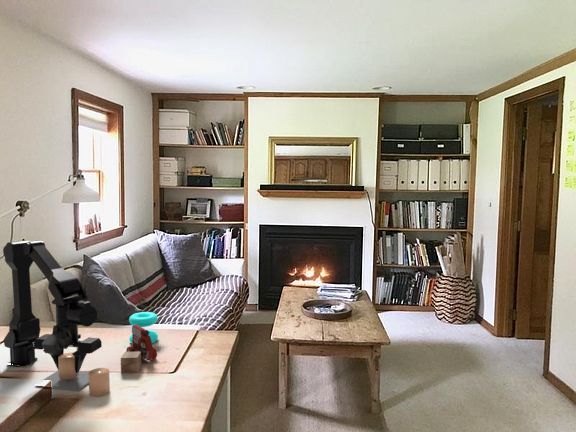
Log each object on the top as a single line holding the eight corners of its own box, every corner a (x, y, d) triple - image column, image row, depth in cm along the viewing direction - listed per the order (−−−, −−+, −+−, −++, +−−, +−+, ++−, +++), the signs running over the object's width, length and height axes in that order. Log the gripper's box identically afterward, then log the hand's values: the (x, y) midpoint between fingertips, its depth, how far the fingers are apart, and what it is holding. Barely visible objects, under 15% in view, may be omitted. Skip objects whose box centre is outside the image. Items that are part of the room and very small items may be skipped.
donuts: (134, 310, 181) (160, 311, 181) (134, 336, 182) (161, 337, 182) (124, 319, 171) (153, 319, 171) (125, 346, 172) (153, 346, 172)
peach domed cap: (85, 395, 134) (84, 374, 133) (96, 387, 139) (95, 367, 139) (102, 397, 133) (102, 376, 132) (113, 389, 138) (112, 368, 138)
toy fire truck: (140, 367, 154) (139, 335, 153) (124, 356, 163) (123, 326, 162) (160, 361, 158) (160, 330, 157) (143, 351, 168) (143, 321, 167)
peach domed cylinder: (54, 378, 141) (54, 358, 141) (66, 371, 146) (65, 351, 146) (71, 380, 140) (70, 360, 140) (82, 372, 145) (82, 353, 145)
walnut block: (121, 373, 149) (120, 357, 148) (125, 367, 154) (124, 351, 153) (137, 373, 149) (137, 357, 149) (141, 366, 154) (140, 351, 154)
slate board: (35, 386, 139) (35, 384, 139) (59, 371, 150) (59, 369, 150) (79, 391, 137) (79, 388, 137) (101, 375, 148) (101, 373, 147)
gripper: (18, 326, 136) (21, 380, 137) (79, 331, 132) (80, 386, 134) (45, 315, 146) (47, 364, 148) (101, 319, 143) (103, 370, 144)
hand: (68, 371), depth 143 cm, fingers closed on peach domed cylinder, 5 cm apart
